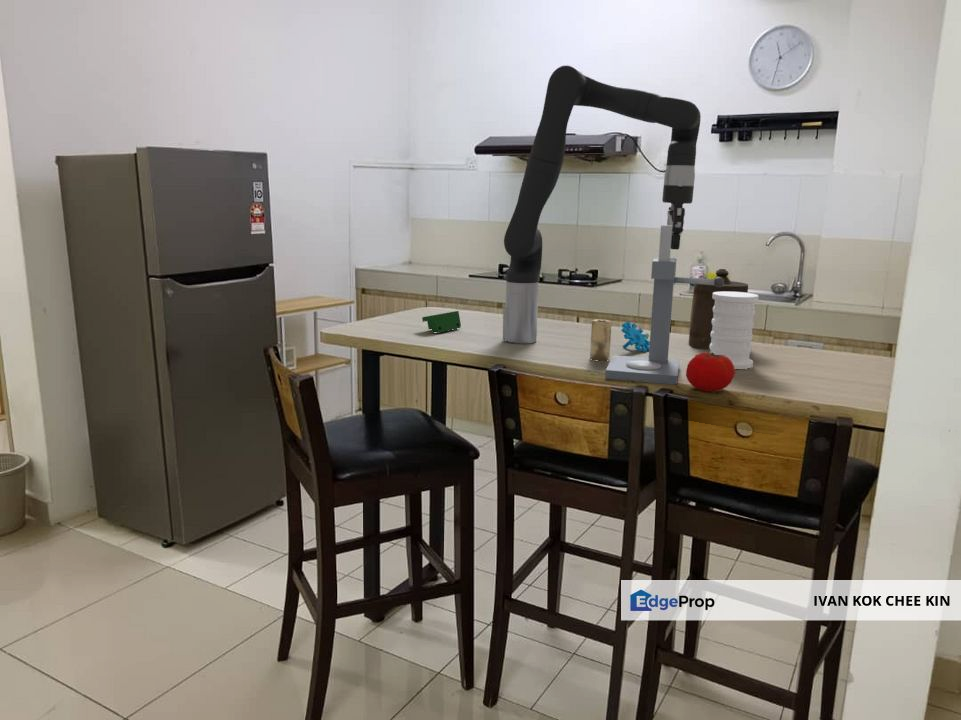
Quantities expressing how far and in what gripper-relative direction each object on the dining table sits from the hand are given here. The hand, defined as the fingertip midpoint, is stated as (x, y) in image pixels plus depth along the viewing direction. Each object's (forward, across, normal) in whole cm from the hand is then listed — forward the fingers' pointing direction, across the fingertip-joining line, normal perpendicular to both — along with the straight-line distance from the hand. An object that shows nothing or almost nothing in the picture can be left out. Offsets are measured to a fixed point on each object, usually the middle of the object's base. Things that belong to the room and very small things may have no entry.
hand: (672, 248), depth 190 cm
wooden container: (+28, -15, +16) cm, 36 cm away
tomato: (+28, +36, +6) cm, 46 cm away
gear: (+29, -4, -7) cm, 30 cm away
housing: (+29, +11, -17) cm, 35 cm away
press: (+28, +24, -2) cm, 37 cm away
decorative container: (+28, +9, +16) cm, 34 cm away
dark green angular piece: (+30, -20, -65) cm, 74 cm away
